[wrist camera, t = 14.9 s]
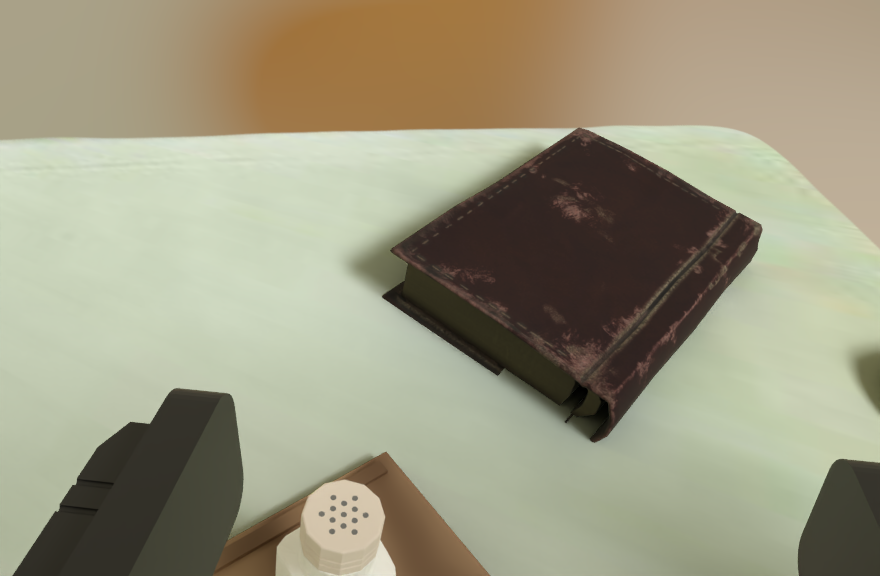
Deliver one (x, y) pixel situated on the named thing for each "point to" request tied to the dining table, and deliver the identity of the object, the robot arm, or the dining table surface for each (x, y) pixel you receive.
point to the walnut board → (404, 534)
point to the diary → (576, 271)
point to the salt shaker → (337, 535)
